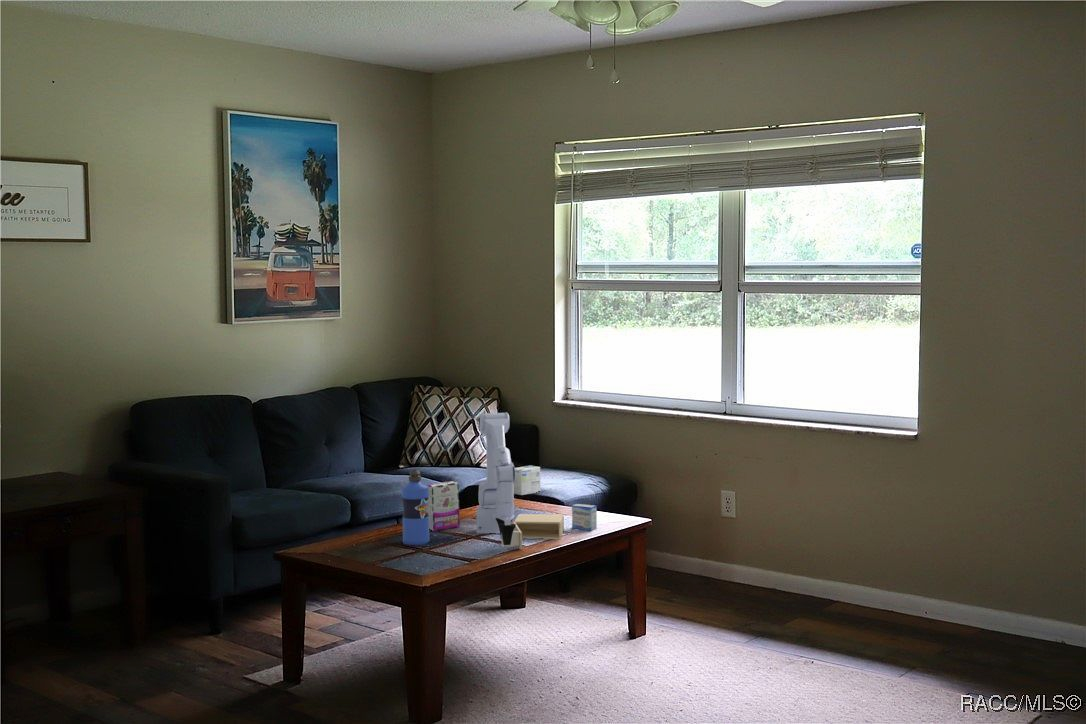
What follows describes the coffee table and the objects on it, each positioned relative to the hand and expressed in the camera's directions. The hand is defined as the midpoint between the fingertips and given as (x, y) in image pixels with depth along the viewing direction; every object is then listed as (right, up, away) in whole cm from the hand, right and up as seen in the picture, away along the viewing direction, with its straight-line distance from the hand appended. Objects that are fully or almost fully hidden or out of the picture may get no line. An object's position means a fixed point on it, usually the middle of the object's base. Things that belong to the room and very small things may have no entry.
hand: (505, 542), depth 353 cm
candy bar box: (-24, -1, +33) cm, 41 cm away
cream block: (+1, -2, +7) cm, 7 cm away
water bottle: (-31, -2, +13) cm, 34 cm away
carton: (+11, -1, +21) cm, 24 cm away
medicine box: (+27, -1, +29) cm, 40 cm away
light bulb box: (+5, +4, +98) cm, 98 cm away
